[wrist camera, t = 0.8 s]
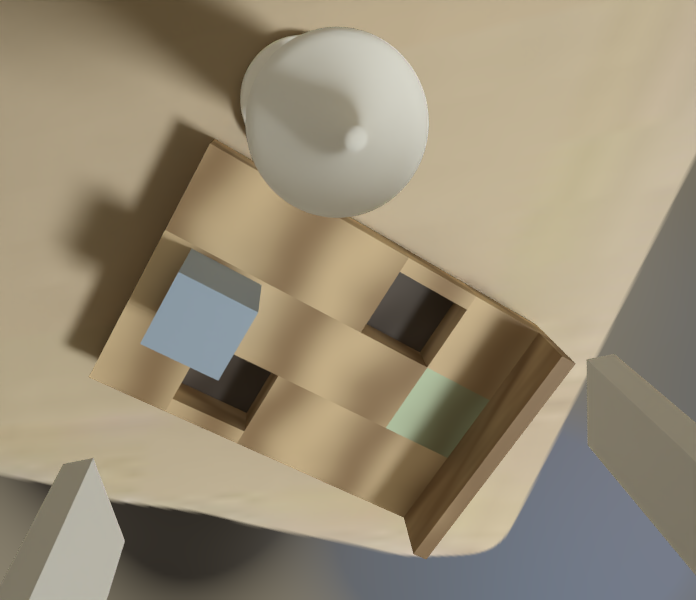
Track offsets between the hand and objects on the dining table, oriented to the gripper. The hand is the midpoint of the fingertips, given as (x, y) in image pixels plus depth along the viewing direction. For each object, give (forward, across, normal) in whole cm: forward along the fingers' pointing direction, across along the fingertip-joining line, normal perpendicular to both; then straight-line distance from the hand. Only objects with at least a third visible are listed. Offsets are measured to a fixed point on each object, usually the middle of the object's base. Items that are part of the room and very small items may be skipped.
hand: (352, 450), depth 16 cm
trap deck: (+23, 0, -8) cm, 24 cm away
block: (+21, -6, -2) cm, 22 cm away
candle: (+24, +1, +7) cm, 25 cm away
